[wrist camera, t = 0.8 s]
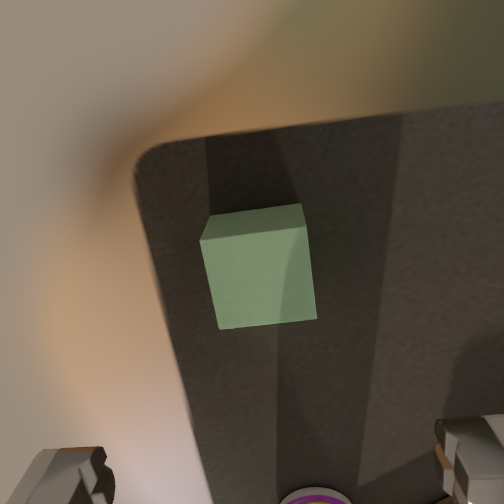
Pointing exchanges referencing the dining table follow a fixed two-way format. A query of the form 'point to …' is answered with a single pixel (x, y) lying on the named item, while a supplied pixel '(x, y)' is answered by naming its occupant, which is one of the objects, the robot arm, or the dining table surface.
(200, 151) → the dining table surface
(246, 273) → the green block
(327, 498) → the supplement bottle
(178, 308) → the dining table surface
